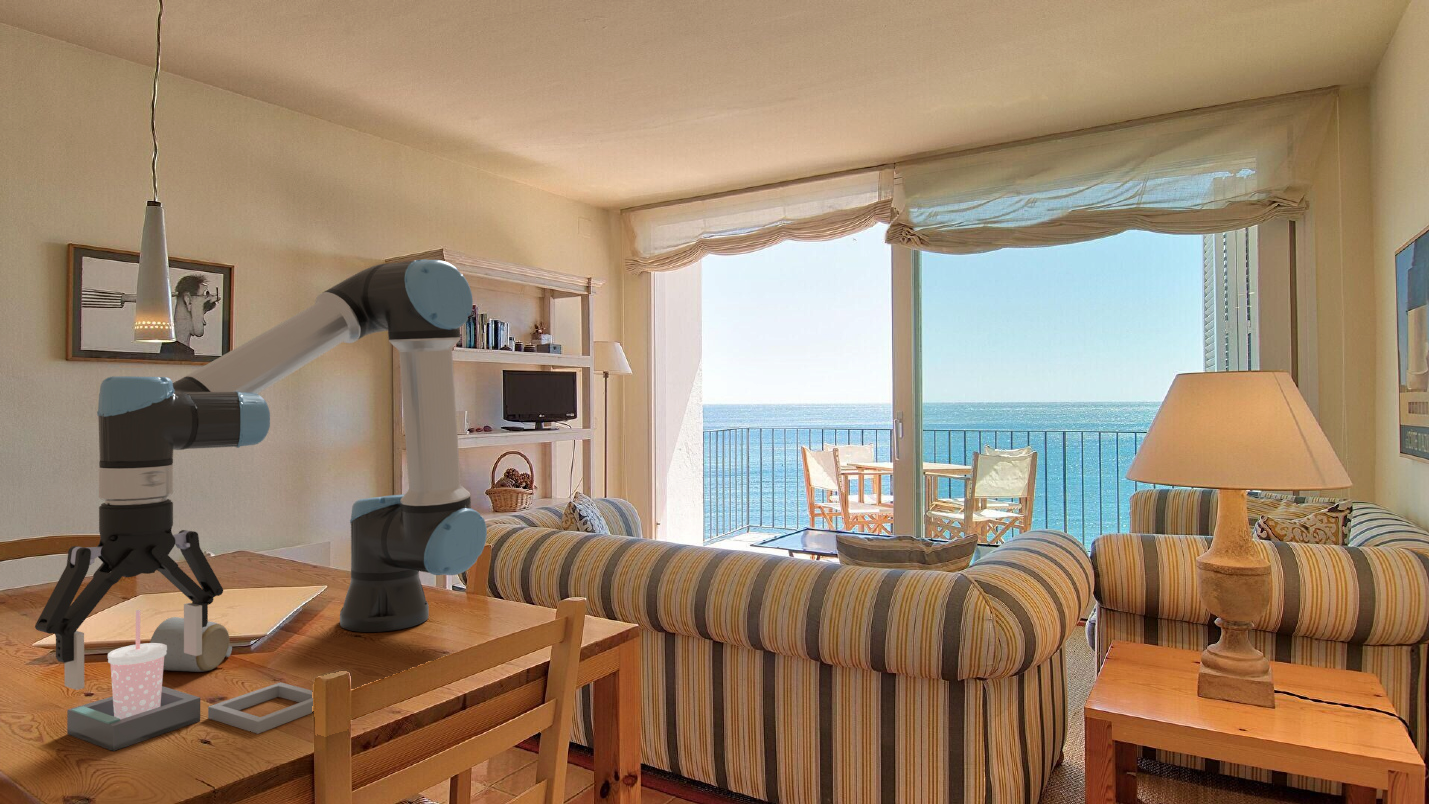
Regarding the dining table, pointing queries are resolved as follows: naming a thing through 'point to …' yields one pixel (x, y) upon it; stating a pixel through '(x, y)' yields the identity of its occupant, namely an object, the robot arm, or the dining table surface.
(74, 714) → the dark gray open tray
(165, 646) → the beverage cup
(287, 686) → the gray rectangular frame
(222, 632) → the ceramic mug
